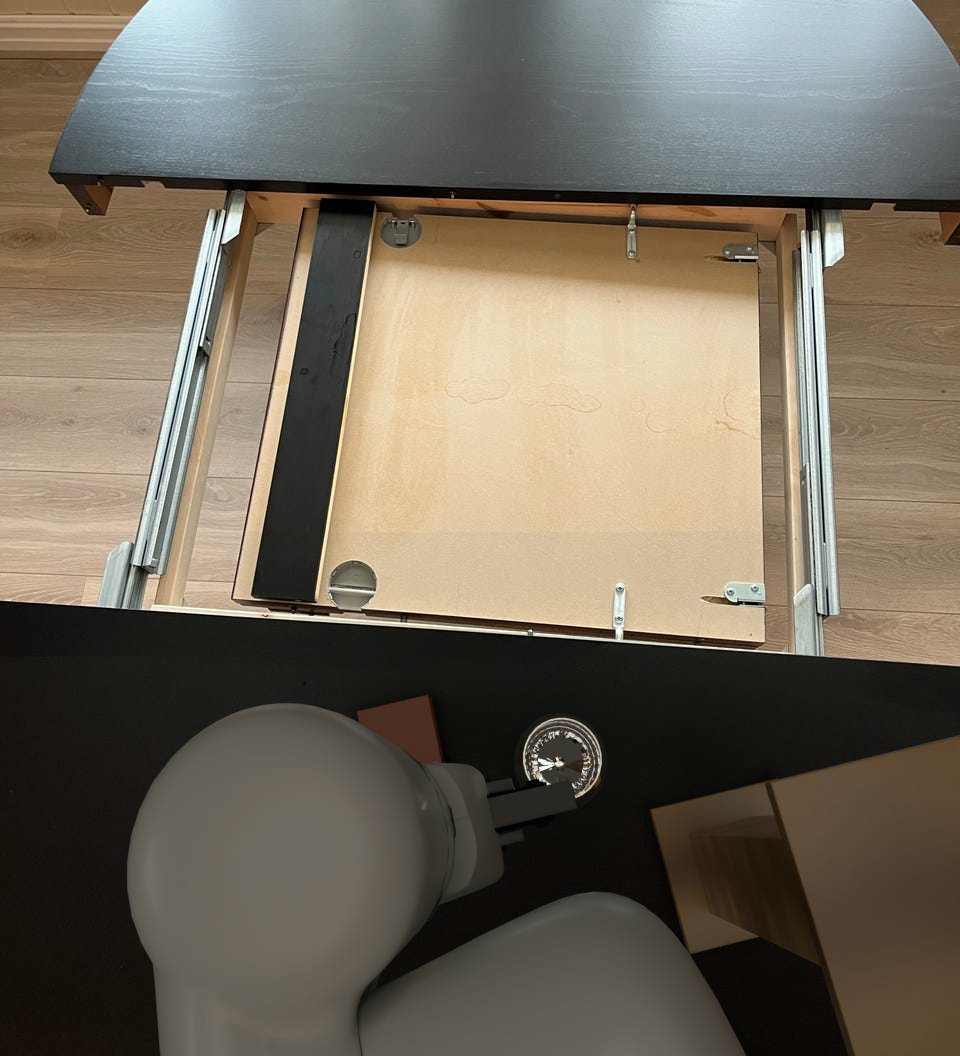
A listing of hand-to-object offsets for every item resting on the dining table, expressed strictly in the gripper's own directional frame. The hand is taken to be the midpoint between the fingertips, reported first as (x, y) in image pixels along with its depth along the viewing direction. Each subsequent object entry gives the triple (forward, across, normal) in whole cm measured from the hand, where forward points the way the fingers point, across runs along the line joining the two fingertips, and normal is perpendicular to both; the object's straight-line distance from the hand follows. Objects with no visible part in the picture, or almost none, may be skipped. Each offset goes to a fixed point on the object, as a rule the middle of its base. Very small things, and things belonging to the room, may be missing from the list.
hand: (398, 838), depth 53 cm
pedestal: (+21, +19, -6) cm, 29 cm away
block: (+21, -1, +6) cm, 22 cm away
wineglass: (+22, +9, +2) cm, 24 cm away
